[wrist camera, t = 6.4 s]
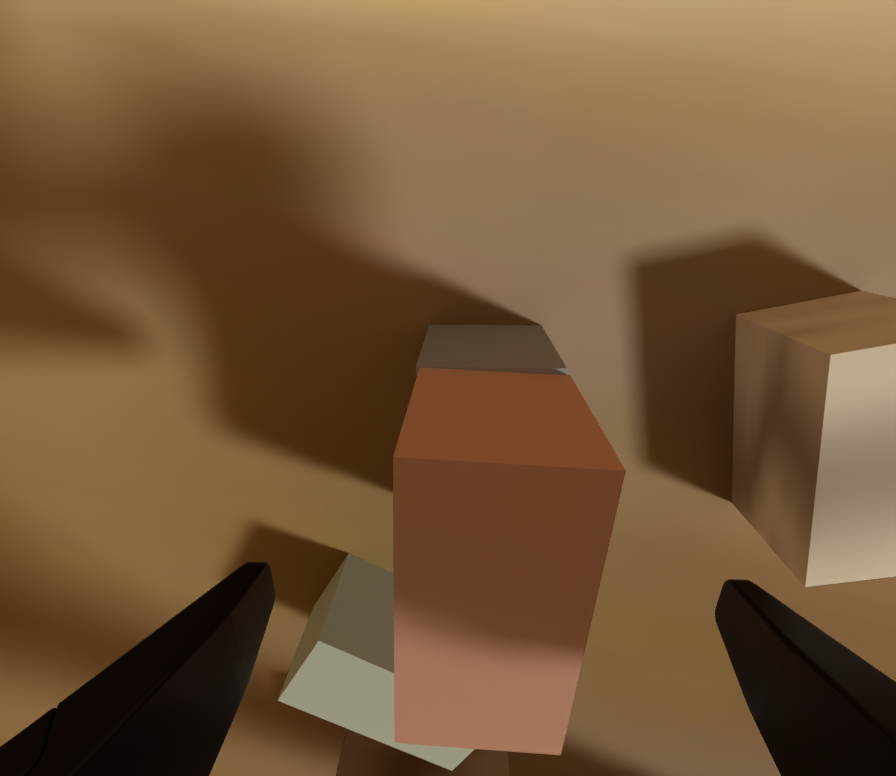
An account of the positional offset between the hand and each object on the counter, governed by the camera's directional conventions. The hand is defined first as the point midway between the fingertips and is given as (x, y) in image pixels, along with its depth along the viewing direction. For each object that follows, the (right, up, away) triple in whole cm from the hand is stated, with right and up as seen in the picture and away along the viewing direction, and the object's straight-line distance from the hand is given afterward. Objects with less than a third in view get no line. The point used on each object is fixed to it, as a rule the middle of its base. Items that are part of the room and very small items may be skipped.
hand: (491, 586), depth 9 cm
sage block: (-3, -6, +10) cm, 12 cm away
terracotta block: (0, +1, +3) cm, 3 cm away
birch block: (+10, +3, +6) cm, 12 cm away
